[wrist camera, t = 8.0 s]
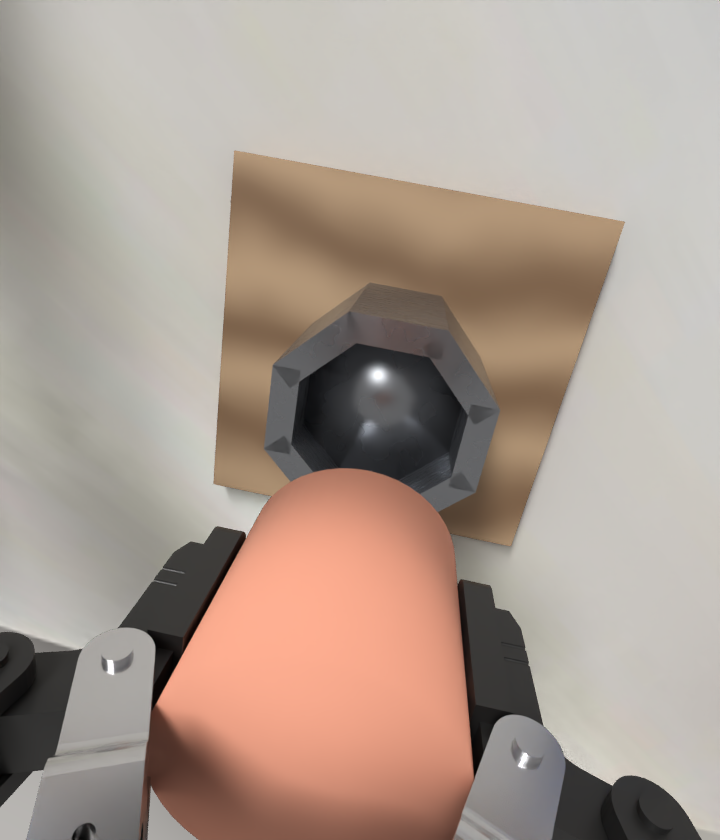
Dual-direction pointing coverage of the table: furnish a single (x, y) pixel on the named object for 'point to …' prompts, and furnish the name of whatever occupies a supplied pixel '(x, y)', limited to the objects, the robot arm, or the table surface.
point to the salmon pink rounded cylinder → (324, 676)
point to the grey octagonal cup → (384, 396)
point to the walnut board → (413, 270)
